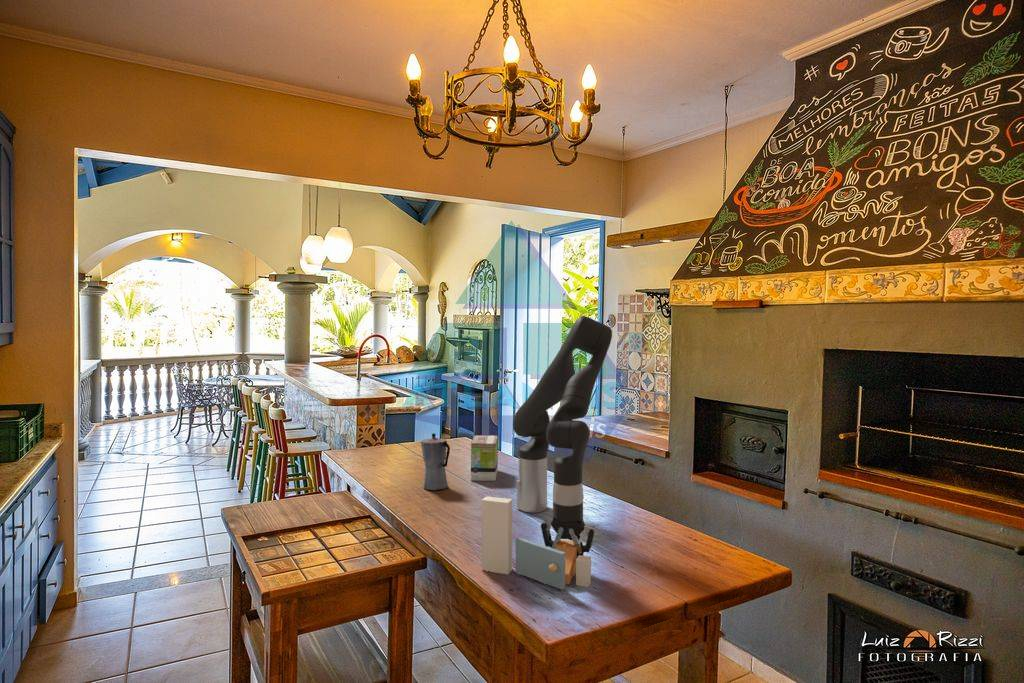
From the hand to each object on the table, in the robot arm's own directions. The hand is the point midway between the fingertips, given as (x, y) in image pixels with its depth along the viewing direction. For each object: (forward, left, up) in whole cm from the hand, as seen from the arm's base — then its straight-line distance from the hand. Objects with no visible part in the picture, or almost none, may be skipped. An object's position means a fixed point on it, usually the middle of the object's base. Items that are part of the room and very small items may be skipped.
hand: (568, 564), depth 145 cm
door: (-5, -10, -1) cm, 11 cm away
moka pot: (-61, +50, -1) cm, 79 cm away
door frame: (-7, -6, -1) cm, 9 cm away
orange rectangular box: (0, -4, -1) cm, 4 cm away
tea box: (-50, +70, -2) cm, 86 cm away
